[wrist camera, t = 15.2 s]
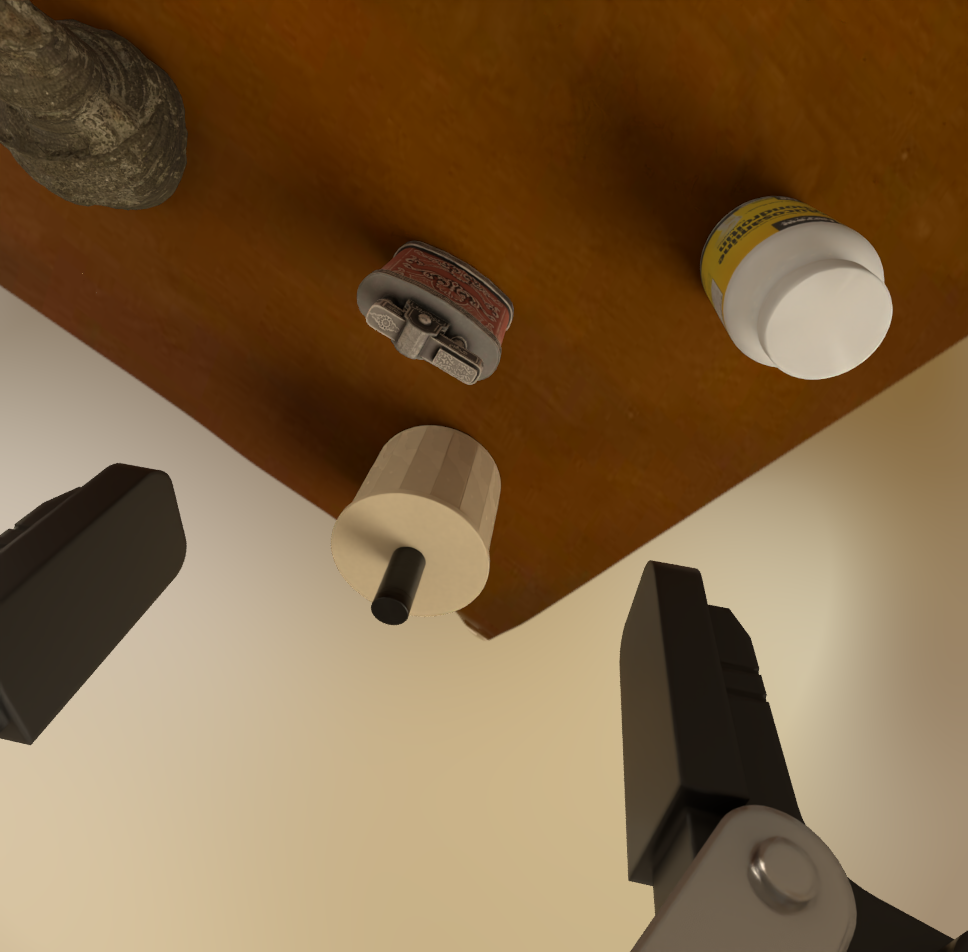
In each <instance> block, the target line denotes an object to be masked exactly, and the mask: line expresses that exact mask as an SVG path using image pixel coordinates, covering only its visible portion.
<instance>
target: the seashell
mask: <svg viewBox="0 0 968 952" xmlns="http://www.w3.org/2000/svg"><path fill="white" fill-rule="evenodd" d="M187 135H188V133H187V129H186V127H185V109H184V106H183V102H182V97H181V95H180V93H179V91H178V89H177V87H176V85H175V84H174V82H173V81H172V79H171V78H170V77H169V76H168V74H167V73H166V72H165V71H164V70H162V69H161V68H160V67H159V66H157V65H156V64H154V63H153V62H152V61H150V60H149V59H147V58H146V57H145V56H144V55H143V54H142V53H141V51H140V50H139V49H138V48H136V47H135V46H134V45H133V44H132V43H130V42H129V41H128V40H126V39H125V38H123V37H121V36H120V35H118V34H116V33H115V32H113V31H112V30H101V29H97V28H94V27H91V26H89V25H86V24H84V23H81V22H79V21H77V20H74V19H68V20H57V21H55V20H53V19H52V18H50V17H49V16H47V15H46V14H45V13H43V12H42V11H41V10H39V9H38V8H37V7H36V6H34V5H33V4H32V3H31V2H30V1H29V0H0V143H1V144H3V145H4V146H5V147H6V148H7V149H8V150H10V152H11V153H12V155H13V157H14V158H15V160H16V161H17V162H18V163H19V164H20V166H21V167H22V168H23V169H24V170H25V171H26V172H27V173H28V174H29V175H30V176H31V177H32V178H33V179H34V180H35V181H37V182H38V183H40V184H41V185H43V186H45V187H46V188H47V189H48V190H50V191H51V192H53V193H54V194H56V195H58V196H60V197H61V198H63V199H65V200H67V201H70V202H72V203H74V204H78V205H84V206H92V205H102V206H108V207H111V208H116V209H125V210H130V209H132V210H138V209H146V208H150V207H153V206H157V205H160V204H161V203H163V202H164V201H166V200H167V199H168V198H169V197H170V196H171V195H172V194H173V193H174V192H175V190H176V188H177V186H178V184H179V182H180V180H181V178H182V175H183V172H184V169H185V166H186V164H187V158H186V146H187Z"/></svg>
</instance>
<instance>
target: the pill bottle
mask: <svg viewBox="0 0 968 952" xmlns="http://www.w3.org/2000/svg"><path fill="white" fill-rule="evenodd" d="M700 275H701V281H702V285H703V288H704V290H705V292H706V294H707V296H708V298H709V300H710V301H711V303H712V305H713V307H714V309H715V310H716V312H717V314H718V316H719V318H720V319H721V321H722V323H723V325H724V326H725V328H726V330H727V332H728V334H729V336H730V337H731V339H732V340H733V342H734V343H735V345H736V346H737V347H738V348H739V349H740V350H741V351H742V352H743V353H744V354H745V355H747V356H748V357H750V358H751V359H753V360H755V361H757V362H759V363H761V364H764V365H768V366H772V367H778V368H779V369H780V370H782V371H783V372H785V373H787V374H789V375H791V376H794V377H797V378H802V379H825V378H830V377H833V376H837V375H840V374H842V373H845V372H847V371H849V370H851V369H853V368H855V367H856V366H857V365H859V364H860V363H862V362H863V361H865V360H866V359H867V358H868V357H869V356H870V355H871V354H872V353H873V352H874V351H875V350H876V349H877V347H878V346H879V345H880V343H881V342H882V340H883V339H884V337H885V335H886V333H887V331H888V328H889V326H890V322H891V318H892V301H891V297H890V294H889V291H888V289H887V287H886V286H885V284H884V273H883V268H882V264H881V261H880V258H879V256H878V254H877V252H876V251H875V249H874V248H873V246H872V245H871V244H870V243H869V241H868V240H867V239H865V238H864V237H863V236H862V235H860V234H859V233H858V232H856V231H854V230H853V229H851V228H849V227H847V226H845V225H844V224H842V223H840V222H838V221H837V220H835V219H833V218H831V217H829V216H827V215H826V214H824V213H822V212H820V211H818V210H816V209H814V208H813V207H811V206H809V205H807V204H805V203H803V202H801V201H798V200H796V199H793V198H789V197H783V196H767V197H762V198H757V199H754V200H751V201H749V202H746V203H744V204H742V205H740V206H739V207H737V208H735V209H734V210H732V211H731V212H730V213H728V214H727V215H726V216H725V217H724V218H723V219H722V220H721V221H720V222H719V223H718V224H717V225H716V226H715V228H714V229H713V231H712V232H711V234H710V235H709V237H708V239H707V241H706V243H705V246H704V248H703V252H702V256H701V261H700Z"/></svg>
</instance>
